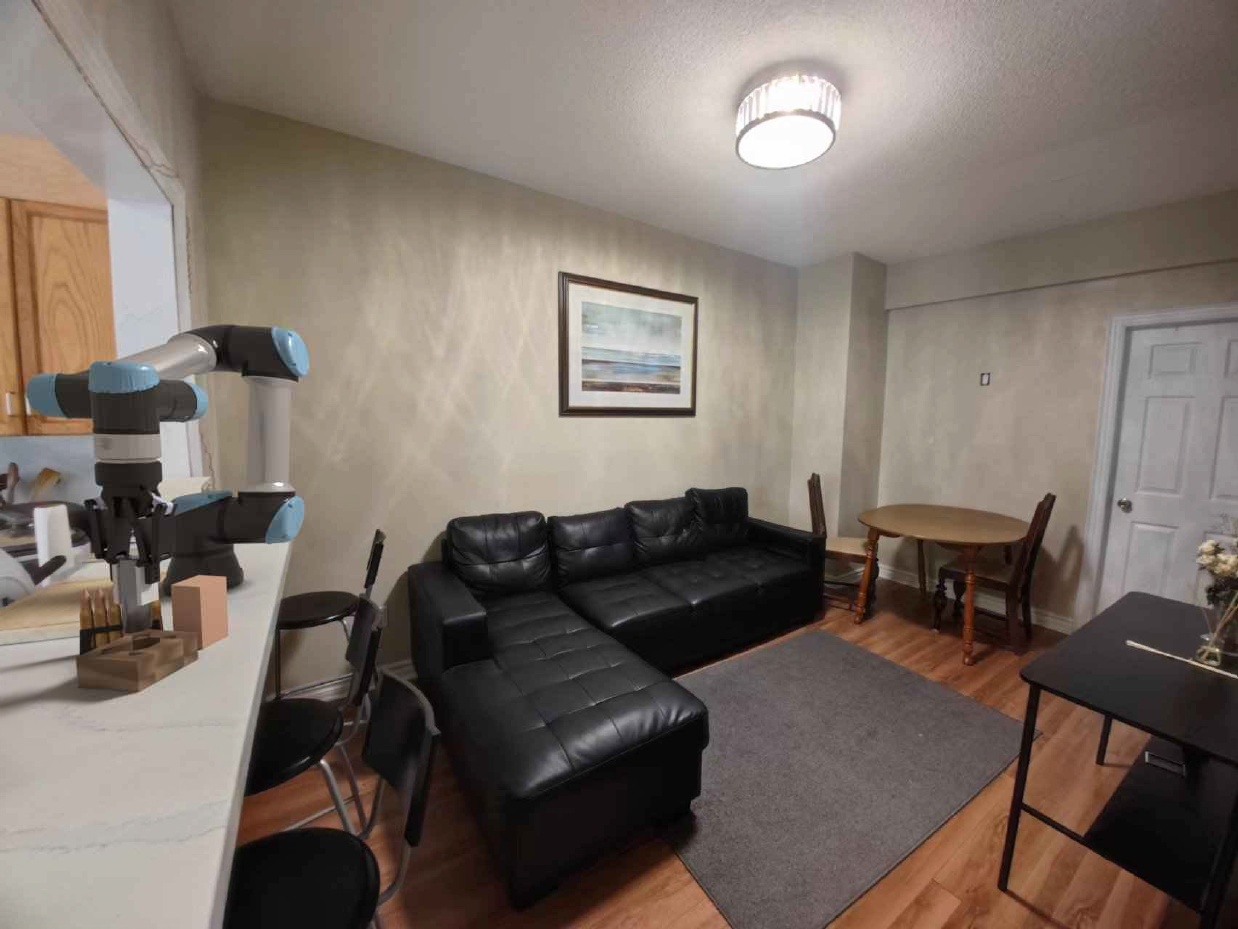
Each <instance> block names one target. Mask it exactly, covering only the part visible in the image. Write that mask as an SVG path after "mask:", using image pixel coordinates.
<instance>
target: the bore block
mask: <svg viewBox="0 0 1238 929" xmlns="http://www.w3.org/2000/svg"><path fill="white" fill-rule="evenodd" d="M198 650H199V649H198V645H197V632H184V631H173V630H167V629H166V630H165V629H164V630H154V629H147V630H144V631H141V632H136V633H131V634H129V635H127V636H124V637H122V638H120V639H118V640H115V641H113V642H111V643H108V644H106V645H104V646H101V647H99V648H97V649H94V650H92V651H90V652H87V653H85V654H83V655H80V654H79V655H78V656H76V657H75V661H76V663H75V664H76V676H77V688H82V689H95V690H109V691H110V690H111V691H122V692H123V691H125V692H134V693H135V692H137V693H140V692H142V691H143V690H145V689H146V688H148V687H150V686H153V685H155V684H156V683H158V682H159V681H161V680H163V679H165V678H167V677H168V676H170V675H172V674H174V673H175V672H177V671H180V670H181V669H183V668H185V667H187V666H188V665H191V664H193V663H194V662H196V661H197V660H199V651H198Z"/></svg>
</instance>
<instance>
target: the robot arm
mask: <svg viewBox="0 0 1238 929" xmlns="http://www.w3.org/2000/svg"><path fill="white" fill-rule="evenodd" d="M309 366H310V362H309V355H308V351H307V348H306V345H305V343H304V341H303V339H302V337H301V336H300V335H299V334H298V333H297V332H295V331H293V330H291V329H287V328H285V329H284V328H278V327H275V326H274V327H269V326H252V325H240V324H239V325H237V324H228V323H225V324H221V323H220V324H215V325H208V326H204V327H203V326H202V327H198V328H194V329H191V330H186V331H184V332H180V333H178V334H173V336H171V337H170V338H169V339H168V340H167V342H166V343H163V344H160V345H157V346H154V347H151V348H148V349H145V350H143V351H139V352H137V353H133V354H130V355H128V356H125V357H122V358H117V359H114V360H111V361H109V360H99V361H97V360H96V361H94V362H92V363H90V365H89V368H88V369H83V370H82V371H78V372H75V373H62V372H55V373H51V372H50V373H39V374H36V375H35V376H33V377H32V378H30V380H29V381H28V383H27V384H26V388H25V397H26V399H27V403H28V405H29V407H31V409H32V410H33V411H34V412H36V413H38V414H40V415H42V416H45V417H50V418H61V419H62V418H63V419H67V420H73V419H76V420H78V419H79V420H92V440H93V442H92V443H93V457H94V458H95V459H97V460H99V461H97V462H96V463H94V464H93V465H94V466H93V467H94V468H93V469H94V480H95V481H94V482H95V485H96V486H99V487H102V489H101V492H100V495H99V496H98V497H97V496H96V497H95V498H88V499H85V500H84V501H83V505H84V507H85V510H86V512H87V513H88V517H89V518H88V519H89V524H90V531H91V538H92V540H91V541H92V545H93V552H94V558H95V559H96V560H104V561H105V562H106V563H107V564H108V565H109V575H110V576H109V579H110V581H111V583H112V587H113V592H114V604H119V605H122V603H121V586H120V570H119V559H121V558H124V557H129V556H133V555H132V554H130V550H131V542H132V540H131V539H132V533H133V534H134V540H135V545H136V549H137V554H138V555H139V559H140V563H138V564H135V565H136V566H135V571H136V589H137V605H139V606H142V605H145V604H148V603H150V602H153V601H156V600H158V599H159V600H160V595H159V582H160V581H161V562H163V561H166V560H167V561H168V560H170V562H169V564H168V567H167V569H166V573H165V578H163V580H162V584H161V586H162V588H161V589H162V593H163V594H164V595H166V596H171V585H173V584H176V583H178V582H181V581H184V580H187V579H189V578H192V577H195V576H198V575H205V576H221V577H226V587H227V590H228V589H231V588H233V587H236V586H238V585H240V584H241V583H243V582H244V580H245V576H244V574H245V572H244V569H243V568H242V567H241V565H240V563H239V559H238V557H237V554H236V553H235V545H251V544H253V545H254V544H255V545H256V544H259V545H260V544H261V545H262V544H265V545H266V544H267V545H272V544H284V543H285V544H286V543H289V542H291V541H292V540H293V539H295V537H296V536H297V535H298V534H299V532H300V530H301V528H302V525H303V522H304V518H305V511H306V507H305V506H306V505H305V502H304V500H303V498H302V497H300V496H296V488H294V486H292V485H291V484H290V483H289V481H290V480H289V479H290V478H289V477H290V475H289V474H290V448H291V446H290V440H291V439H290V438H291V410H292V409H291V408H292V407H291V405H292V404H291V403H292V390H293V389H294V388H296V387H297V386H299V378H303V377H306V376H307V374H308V371H309V368H310V367H309ZM210 372H212V373H213V372H216V373H218V372H220V373H221V372H223V373H237V374H238V373H239V374H241V376H240V378H241V380H242V381H243V382H244V383H245V384H246V385H247V386H248V403H247V406H248V407H247V440H246V442H247V443H246V469H245V470H246V472H245V473H246V475H245V478H246V479H245V483H244V485H242V486H241V487H239V489H237V496H233V495H234V494H233V492H232V490H230V489H219V490H218V489H217V490H210V491H203V492H196V493H189V494H185V495H181V496H177V497H173V499H172V500H170V501H168V500H166V499H164V498H162V495H161V492H160V491H159V488H158V486H159V484H160V483H162V482H163V480H164V479H163V478H164V477H163V463H162V462H161V461H160V460H157V459H159V458H161V457H162V455H163V453H162V441H161V424H160V423H187V422H193V421H197V420H198V419H201V418H202V417H203V416H204V415H205V414H206V413H207V412H208V409H209V404H210V402H209V396H208V394H207V393H206V392H205V391H204V389H203V388H201V387H200V386H199V385H197V384H195V383H193V382H189V381H185V380H183V379H186V378H187V377H190V376H193V375H194V376H203V375H206V374H209V373H210ZM132 531H133V532H132Z"/></svg>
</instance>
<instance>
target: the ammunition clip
mask: <svg viewBox="0 0 1238 929" xmlns="http://www.w3.org/2000/svg"><path fill="white" fill-rule="evenodd" d="M108 594H109V595H108V609H107V606H106V600H105V594H104V592H103V590H102V589H101V588H100V587H98V588H97V590H96V591H95V594H94V595H95V596H94V610H93V607H92V602H91V601H92V600H91V597H90V594H89V592H88V590H86V589H83V591H82V592H81V596H80V606H79V607H80V610H79V627H80V629H79V656H80V655H83V654H85V653H87V652H90V651H92V650H94V649H97V648H99V647H101V646H104V645H106V644H108V643H111V642H113V641H115V640H118V639H120V638H122V637H124V636H127V635H129V634H131V633H124V632H123V620H122V607H121V606H120V605H121V604H114V592H113V586H111V588H110V589H109V593H108ZM151 608H152V627H151V628H149V629H154V630H165V629H164V622H163V616H162V607H161V601H160V598H159V599H158V600H156V601H153V602H151Z"/></svg>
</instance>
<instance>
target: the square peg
mask: <svg viewBox="0 0 1238 929" xmlns="http://www.w3.org/2000/svg"><path fill="white" fill-rule="evenodd" d="M227 590H228V589H227V587H226V577H221V576H205V575H198V576H195V577H192V578H189V579H187V580H184V581H181V582H178V583H176V584H173V585H171V595H170V597H171V611H172V612H171V613H172V614H171V615H172V631H184V632H197V645H198V650H205V649H206V648H208V647H211V646H212V645H214V644H216V643H218V642H220V641H222V640H223V639H225V638H226V637H228V636H229V620H228V619H229V618H228V617H229V615H228V614H229V612H228V592H227ZM217 641H218V642H217Z"/></svg>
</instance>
